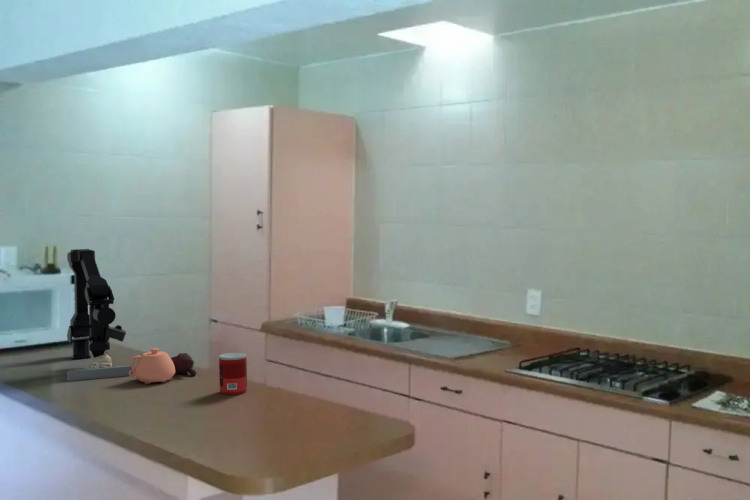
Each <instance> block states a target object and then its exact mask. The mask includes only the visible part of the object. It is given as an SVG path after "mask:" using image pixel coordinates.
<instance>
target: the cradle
mask: <svg viewBox="0 0 750 500" xmlns="http://www.w3.org/2000/svg"><path fill="white" fill-rule="evenodd" d="M130 370H133V369H132V366H131V365H122V366H121V364H117V365H116V366H112V367H108V368H96V369H90V368H86V369H85V367H80V369H74V370H66V378H67V380H66V381H67V382H72V381H82V380H95V379H106V378H108V379H109V378H116V377H128V376H130V375H129V371H130ZM131 374H133V372H131ZM130 377H131V376H130Z"/></svg>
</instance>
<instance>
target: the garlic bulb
mask: <svg viewBox="0 0 750 500" xmlns="http://www.w3.org/2000/svg"><path fill="white" fill-rule="evenodd" d="M108 353H109V350H106V351H105V352H104V355H101V356H98V357H95V358H94V357H93V358H92V359H91V360H90V361H89V363H88V364H89V365H88V369H96V368H108V367H113V363H112V357H111V356H109V355H108Z"/></svg>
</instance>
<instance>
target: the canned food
mask: <svg viewBox="0 0 750 500" xmlns="http://www.w3.org/2000/svg"><path fill="white" fill-rule="evenodd" d="M247 362H248V359H247V354H246V353H245V352H244V353H243V352H228V353H222V354H219V355H218V372H219V392H220V394H221V395H224V396H236V395H242V394H244V393H246V392H247V390H248V371H247V370H248V367H247V366H248V363H247Z"/></svg>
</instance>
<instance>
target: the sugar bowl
mask: <svg viewBox="0 0 750 500" xmlns="http://www.w3.org/2000/svg"><path fill="white" fill-rule="evenodd" d="M136 359H139V360H138V361H137V364H136V365H134V360H136ZM130 366H132V369H133V370H130V371H129V375H130V377H135V378H136V379H137V380H138V381H139V382H144V384H145V385H148V384H151V383H157V382H158V383H159V382H160V383H167V382H168V381H169V380H171V379H173V377H174V375H175V374H176V372H175V366H174V363H173V361H172V360H171V357H170V355H169V354H168V353H167V352H166V351H161V350H160V351H159V348H157V347H156V348H155V347H154V348H150V351H148V352H143V353H142V354H141V355H134V356H132V357H131V359H130ZM131 372H133V374H131Z"/></svg>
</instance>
